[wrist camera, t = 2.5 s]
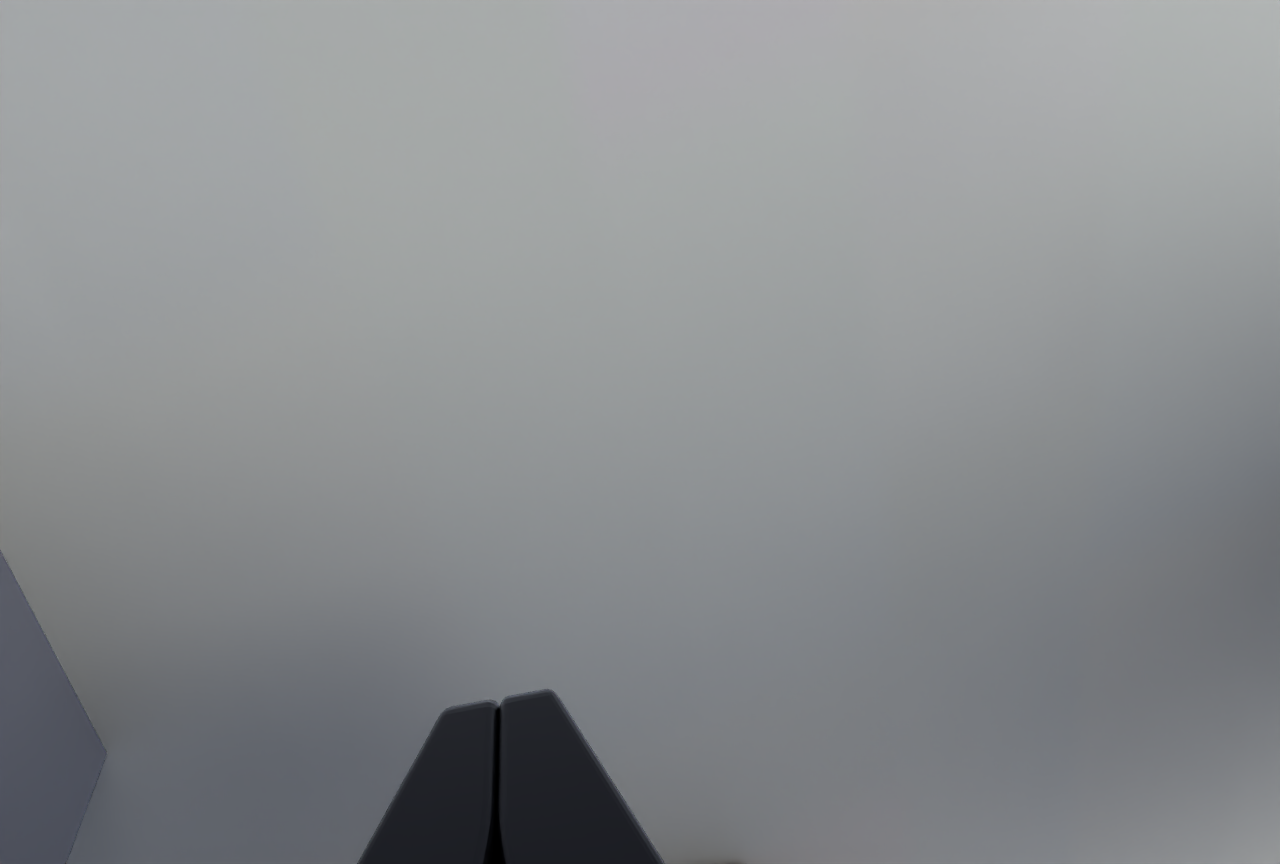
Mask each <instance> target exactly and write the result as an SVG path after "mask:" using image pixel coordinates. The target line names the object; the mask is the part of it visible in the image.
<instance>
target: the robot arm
mask: <svg viewBox="0 0 1280 864" xmlns="http://www.w3.org/2000/svg"><path fill="white" fill-rule="evenodd" d="M357 864H665V863H664V861H663V860H662V858H661V857H660V855H659V854H658V852H657V850H656V849H655V847H654V846H653V844H652V843H651V841H650V839H649V838H648V836H647V835H646V833H645V832H644V830H643V828H642V827H641V825H640V824H639V822H638V821H637V819H636V817H635V816H634V814H633V813H632V811H631V810H630V808H629V806H628V805H627V803H626V802H625V800H624V799H623V797H622V796H621V794H620V792H619V791H618V789H617V788H616V786H615V785H614V783H613V781H612V780H611V778H610V777H609V775H608V774H607V772H606V770H605V769H604V767H603V766H602V764H601V763H600V761H599V759H598V758H597V756H596V755H595V753H594V752H593V750H592V748H591V747H590V745H589V744H588V742H587V741H586V739H585V737H584V736H583V734H582V733H581V731H580V730H579V728H578V726H577V725H576V723H575V722H574V720H573V719H572V717H571V715H570V714H569V712H568V711H567V709H566V708H565V706H564V704H563V703H562V701H561V700H560V698H559V697H558V695H557V694H556V693H555V692H554V691H552V690H549V689H544V690H539V691H533V692H528V693H522V694H517V695H512V696H508V697H505V698H504V699H503V700H502V702H501V705H499V704H498V703H497V702H496V701H493V700H484V701H479V702H474V703H468V704H463V705H458V706H452V707H449V708H447V709H446V710H444V711H443V712H442V713H441V715H440V716H439V718H438V720H437V721H436V723H435V725H434V727H433V729H432V730H431V732H430V734H429V736H428V738H427V739H426V741H425V743H424V745H423V746H422V748H421V750H420V752H419V754H418V755H417V757H416V759H415V761H414V763H413V764H412V766H411V768H410V770H409V772H408V773H407V775H406V777H405V779H404V781H403V782H402V784H401V786H400V788H399V790H398V791H397V793H396V795H395V797H394V799H393V800H392V802H391V804H390V806H389V808H388V809H387V811H386V813H385V815H384V817H383V818H382V820H381V822H380V824H379V826H378V827H377V829H376V831H375V833H374V835H373V836H372V838H371V840H370V842H369V844H368V845H367V847H366V849H365V851H364V852H363V854H362V856H361V858H360V860H359V861H358V863H357Z"/></svg>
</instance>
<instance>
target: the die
mask: <svg viewBox="0 0 1280 864" xmlns="http://www.w3.org/2000/svg"><path fill="white" fill-rule="evenodd" d="M106 755H107V752H106V750H105V748H104V747H103V745H102V743H101V741H100V739H99V737H98V735H97V733H96V731H95V729H94V727H93V726H92V724H91V722H90V720H89V718H88V716H87V714H86V712H85V710H84V708H83V707H82V705H81V703H80V701H79V699H78V697H77V695H76V693H75V691H74V689H73V687H72V686H71V684H70V682H69V680H68V678H67V676H66V674H65V672H64V670H63V668H62V667H61V665H60V663H59V661H58V659H57V657H56V655H55V653H54V651H53V649H52V647H51V646H50V644H49V642H48V640H47V638H46V636H45V634H44V632H43V630H42V628H41V626H40V625H39V623H38V621H37V619H36V617H35V615H34V613H33V611H32V609H31V607H30V606H29V604H28V602H27V600H26V598H25V596H24V594H23V592H22V590H21V588H20V586H19V585H18V583H17V581H16V579H15V577H14V575H13V573H12V571H11V569H10V567H9V566H8V564H7V562H6V560H5V558H4V556H3V554H2V552H1V550H0V864H66V862H67V860H68V857H69V854H70V852H71V849H72V846H73V844H74V841H75V838H76V836H77V833H78V830H79V828H80V825H81V822H82V820H83V817H84V814H85V812H86V809H87V806H88V803H89V801H90V798H91V795H92V793H93V790H94V787H95V785H96V782H97V779H98V777H99V774H100V771H101V769H102V766H103V763H104V761H105V758H106Z"/></svg>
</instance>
